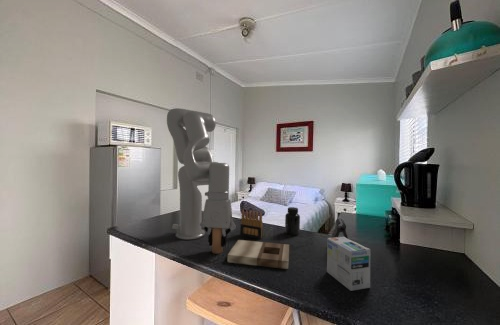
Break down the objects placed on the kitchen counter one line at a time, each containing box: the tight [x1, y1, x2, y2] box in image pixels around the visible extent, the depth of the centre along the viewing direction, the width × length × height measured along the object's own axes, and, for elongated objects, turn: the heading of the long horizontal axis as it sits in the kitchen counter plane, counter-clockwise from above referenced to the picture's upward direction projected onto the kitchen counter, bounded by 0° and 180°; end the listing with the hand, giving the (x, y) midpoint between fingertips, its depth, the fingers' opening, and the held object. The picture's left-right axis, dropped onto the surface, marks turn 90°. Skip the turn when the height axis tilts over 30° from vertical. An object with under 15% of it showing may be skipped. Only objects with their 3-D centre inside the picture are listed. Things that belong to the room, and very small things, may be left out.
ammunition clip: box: [239, 208, 264, 240], centre depth 98 cm, size 11×2×12 cm, turn 63°
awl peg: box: [211, 228, 224, 255], centre depth 81 cm, size 4×4×10 cm
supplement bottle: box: [284, 206, 301, 237], centre depth 103 cm, size 7×7×12 cm
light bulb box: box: [326, 236, 371, 292], centre depth 63 cm, size 11×7×11 cm, turn 17°
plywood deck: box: [227, 239, 290, 270], centre depth 78 cm, size 20×14×2 cm
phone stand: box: [330, 218, 349, 239], centre depth 83 cm, size 9×6×12 cm, turn 73°
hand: (217, 244), depth 81 cm, fingers closed on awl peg, 4 cm apart
